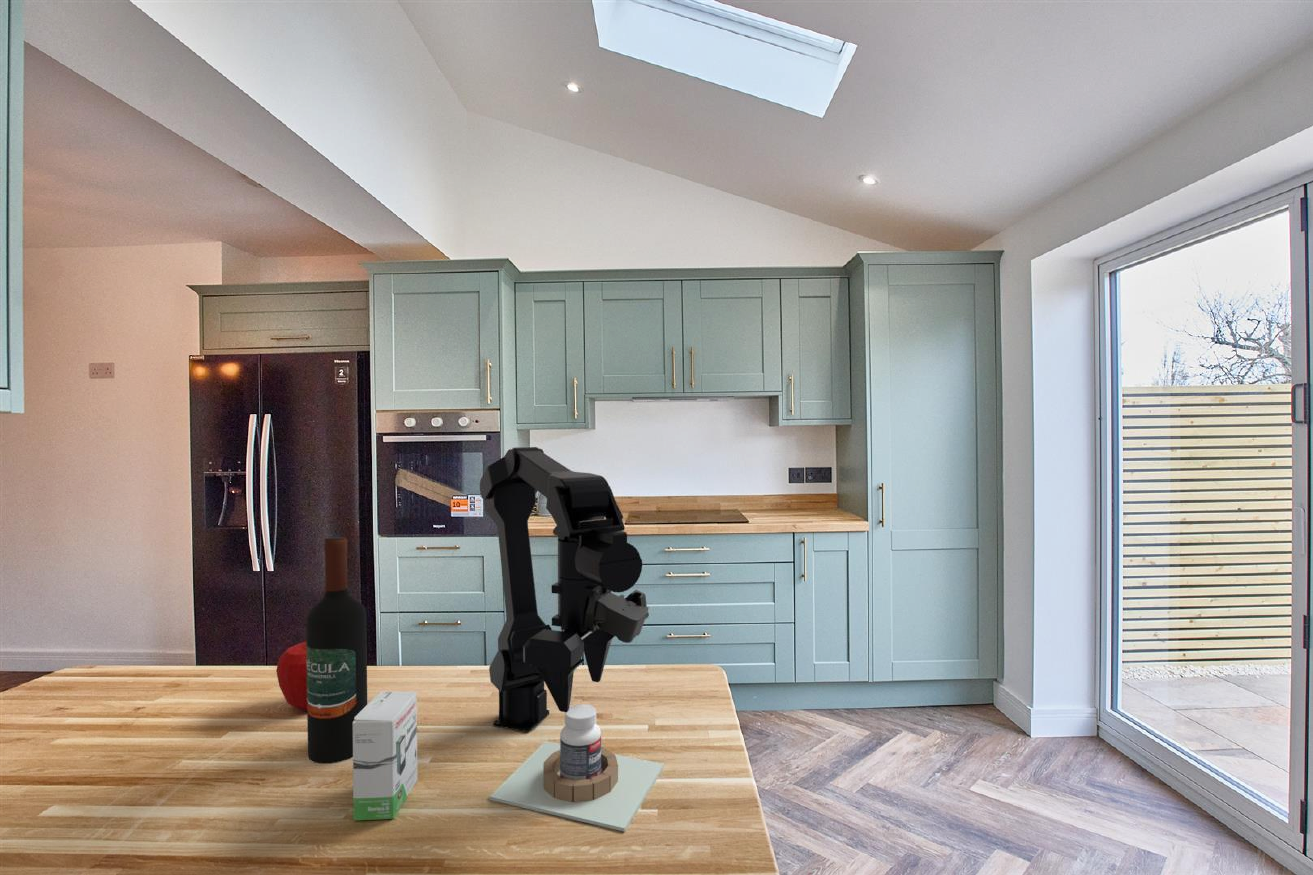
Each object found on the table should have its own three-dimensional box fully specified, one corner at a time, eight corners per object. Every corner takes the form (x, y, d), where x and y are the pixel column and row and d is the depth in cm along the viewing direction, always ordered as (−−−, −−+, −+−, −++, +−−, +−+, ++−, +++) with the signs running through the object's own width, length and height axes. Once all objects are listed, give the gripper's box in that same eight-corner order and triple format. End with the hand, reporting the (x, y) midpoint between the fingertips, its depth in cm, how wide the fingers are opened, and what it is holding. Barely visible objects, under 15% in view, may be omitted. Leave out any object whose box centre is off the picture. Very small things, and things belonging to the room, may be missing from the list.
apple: (342, 713, 99) (341, 645, 99) (272, 724, 95) (270, 654, 95) (346, 688, 108) (345, 626, 108) (283, 697, 104) (282, 633, 104)
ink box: (394, 821, 73) (393, 721, 72) (350, 822, 72) (349, 721, 72) (419, 778, 81) (418, 688, 81) (380, 779, 81) (379, 689, 81)
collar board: (489, 799, 77) (489, 780, 77) (545, 743, 90) (545, 727, 90) (624, 831, 71) (625, 810, 71) (664, 766, 84) (664, 749, 84)
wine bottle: (379, 742, 90) (377, 536, 89) (333, 768, 83) (330, 545, 82) (343, 731, 93) (340, 532, 92) (295, 755, 86) (292, 541, 86)
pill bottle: (594, 793, 77) (594, 723, 77) (554, 788, 78) (554, 719, 78) (606, 769, 82) (605, 703, 82) (568, 765, 83) (567, 700, 83)
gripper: (609, 600, 68) (609, 741, 68) (663, 563, 86) (663, 675, 86) (520, 591, 72) (521, 725, 72) (590, 557, 89) (590, 665, 90)
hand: (581, 695), depth 80 cm, fingers open, 9 cm apart
